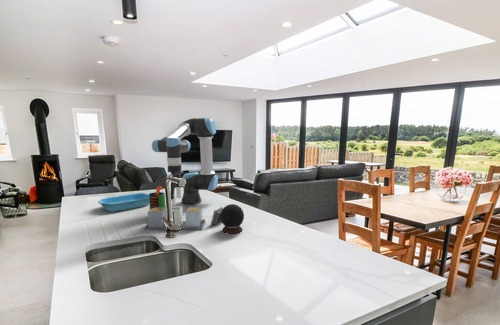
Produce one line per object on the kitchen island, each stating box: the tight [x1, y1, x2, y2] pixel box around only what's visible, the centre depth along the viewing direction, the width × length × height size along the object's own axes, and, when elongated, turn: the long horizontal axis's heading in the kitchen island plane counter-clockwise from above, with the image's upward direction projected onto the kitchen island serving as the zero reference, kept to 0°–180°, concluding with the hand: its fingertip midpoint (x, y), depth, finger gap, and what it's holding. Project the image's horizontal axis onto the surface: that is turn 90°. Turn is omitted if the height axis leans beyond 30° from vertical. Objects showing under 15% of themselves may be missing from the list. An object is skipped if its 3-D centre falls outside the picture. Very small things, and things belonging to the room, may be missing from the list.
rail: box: [144, 206, 206, 231], centre depth 153 cm, size 11×32×11 cm, turn 91°
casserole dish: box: [98, 192, 150, 213], centre depth 193 cm, size 37×22×7 cm, turn 135°
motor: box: [148, 185, 166, 210], centre depth 168 cm, size 10×9×20 cm
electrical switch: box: [210, 206, 224, 226], centre depth 159 cm, size 9×5×9 cm, turn 157°
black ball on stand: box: [220, 203, 245, 235], centre depth 146 cm, size 13×13×15 cm
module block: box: [171, 205, 184, 226], centre depth 153 cm, size 6×6×11 cm
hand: (175, 201), depth 152 cm, fingers open, 13 cm apart
